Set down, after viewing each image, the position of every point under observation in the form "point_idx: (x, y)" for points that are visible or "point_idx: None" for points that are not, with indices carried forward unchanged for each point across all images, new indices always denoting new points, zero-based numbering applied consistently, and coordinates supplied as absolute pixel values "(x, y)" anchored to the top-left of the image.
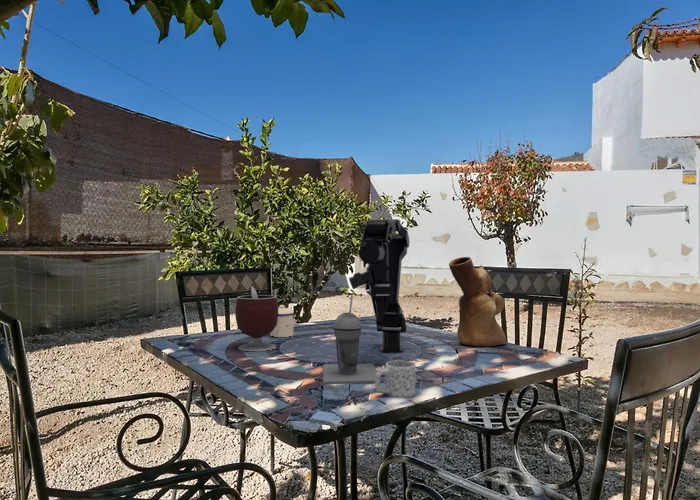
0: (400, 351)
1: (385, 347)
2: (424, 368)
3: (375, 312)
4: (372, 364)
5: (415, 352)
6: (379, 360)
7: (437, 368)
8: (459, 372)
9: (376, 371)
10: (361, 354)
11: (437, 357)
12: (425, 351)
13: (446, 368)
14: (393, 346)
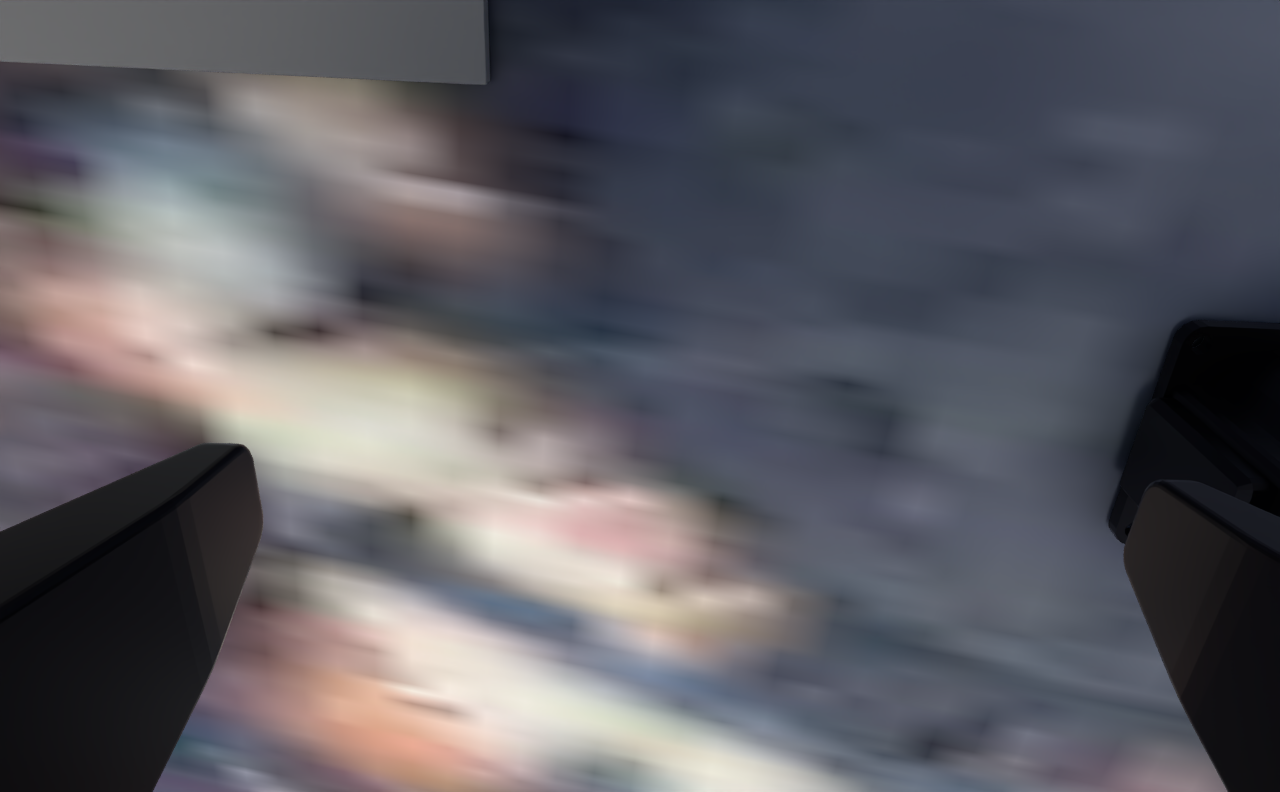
0: (1113, 512)
1: (1249, 381)
2: (362, 570)
3: (1185, 529)
4: (422, 66)
5: (1060, 635)
6: (764, 207)
7: (365, 662)
8: (237, 765)
9: (48, 60)
10: (1190, 11)
11: (789, 750)
12: (1071, 720)
13: (368, 719)
14: (1154, 474)
